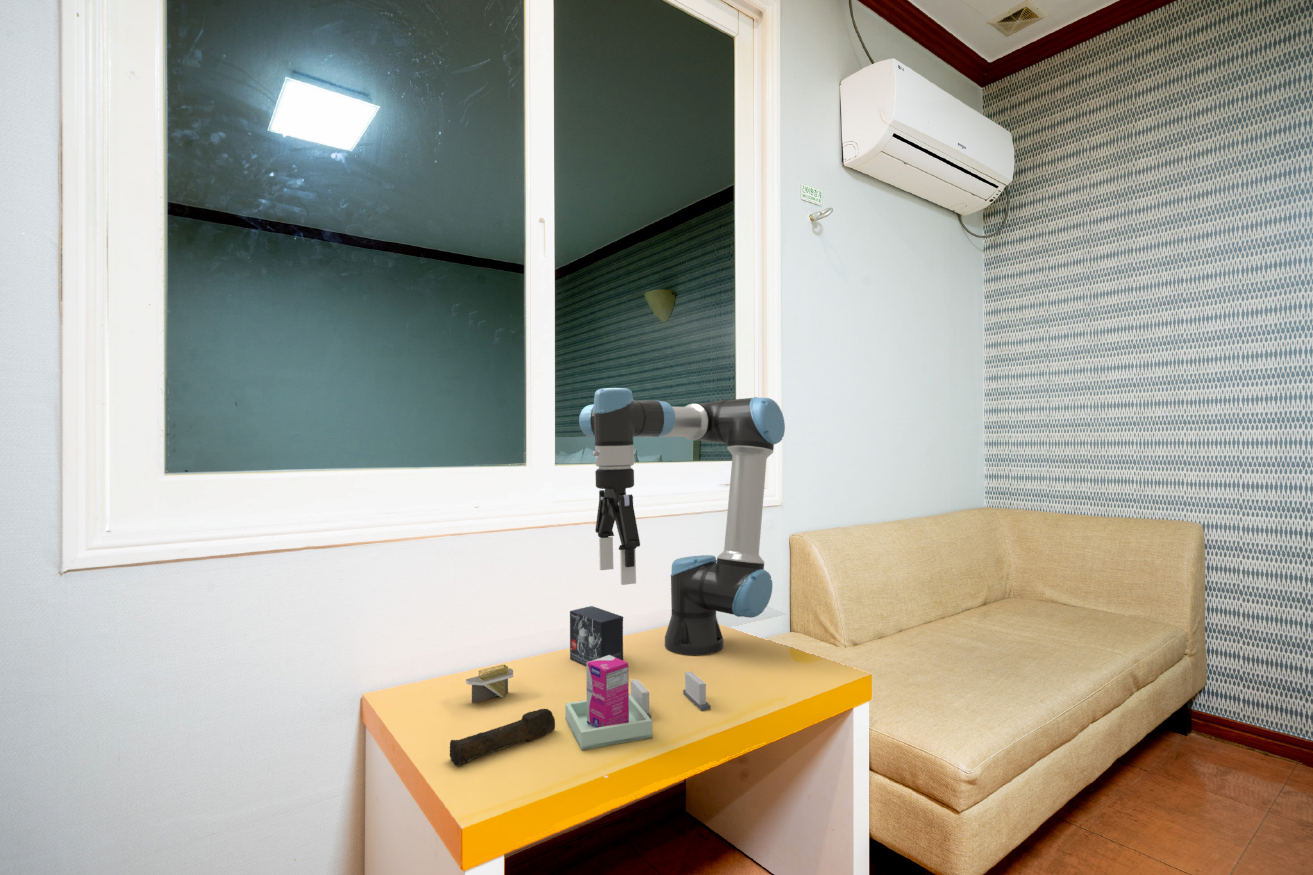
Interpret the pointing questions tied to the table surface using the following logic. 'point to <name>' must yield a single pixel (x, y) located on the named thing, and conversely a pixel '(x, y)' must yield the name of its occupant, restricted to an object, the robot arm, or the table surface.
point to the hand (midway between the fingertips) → (616, 576)
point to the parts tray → (607, 735)
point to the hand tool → (503, 736)
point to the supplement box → (607, 692)
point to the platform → (490, 683)
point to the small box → (595, 634)
